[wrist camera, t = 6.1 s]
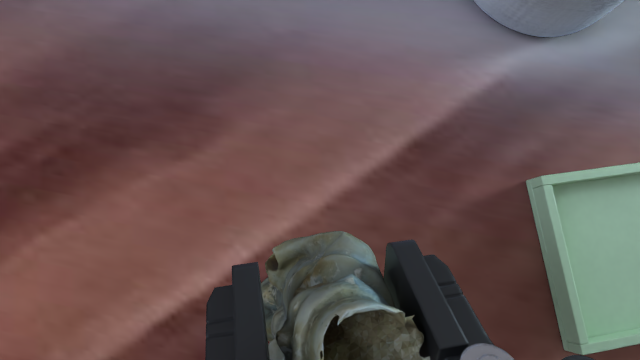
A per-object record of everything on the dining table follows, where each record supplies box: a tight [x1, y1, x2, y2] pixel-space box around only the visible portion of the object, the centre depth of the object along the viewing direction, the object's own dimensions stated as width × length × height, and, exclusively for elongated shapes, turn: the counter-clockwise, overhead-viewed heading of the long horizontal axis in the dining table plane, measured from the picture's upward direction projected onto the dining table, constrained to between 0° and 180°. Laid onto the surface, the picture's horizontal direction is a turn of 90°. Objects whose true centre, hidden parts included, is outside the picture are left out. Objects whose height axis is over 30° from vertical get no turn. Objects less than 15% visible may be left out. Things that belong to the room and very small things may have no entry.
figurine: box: [261, 231, 430, 360], centre depth 18 cm, size 5×7×18 cm
